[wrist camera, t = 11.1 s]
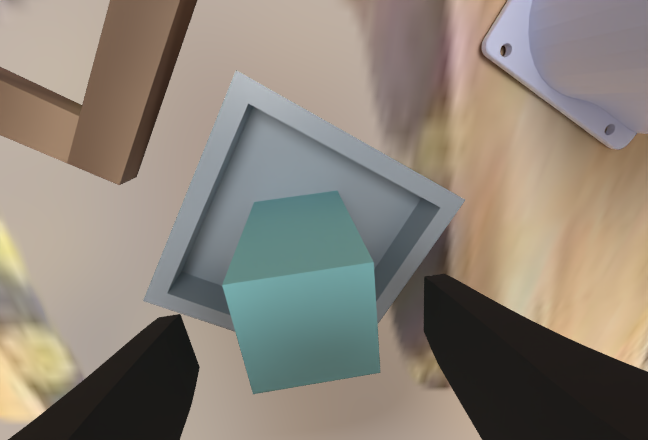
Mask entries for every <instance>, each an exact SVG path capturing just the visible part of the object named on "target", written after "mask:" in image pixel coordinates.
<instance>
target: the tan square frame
mask: <svg viewBox="0 0 648 440" xmlns="http://www.w3.org/2000/svg"><path fill="white" fill-rule="evenodd" d="M196 2H197V0H110V3H109V7H108V11H107V14H106V18H105V22H104V25H103V29H102V33H101V37H100V41H99V44H98V48H97V52H96V56H95V60H94V63H93V67H92V71H91V74H90V78H89V82H88V86H87V89H86V93H85V97H84V101H83V105H80V104H78V103H76V102H74V101H72V100H70V99H67V98H65V97H63V96H61V95H59V94H57V93H55V92H53V91H50V90H48V89H46V88H44V87H42V86H40V85H38V84H36V83H33V82H31V81H29V80H27V79H25V78H23V77H21V76H19V75H16V74H14V73H12V72H10V71H8V70H6V69H4V68H1V67H0V135H1V136H4V137H6V138H9V139H11V140H13V141H16V142H18V143H20V144H23V145H25V146H27V147H30V148H32V149H35V150H37V151H40V152H42V153H44V154H46V155H49V156H51V157H54V158H56V159H59V160H61V161H63V162H65V163H68V164H70V165H73V166H75V167H78V168H80V169H82V170H85V171H87V172H90V173H92V174H94V175H96V176H99V177H101V178H103V179H106V180H108V181H111V182H113V183H115V184H118V185H121V184H123V183H125V182H127V181H129V180H131V179H133V178H135V177H137V174H138V171H139V169H140V165H141V163H142V160H143V157H144V154H145V151H146V148H147V145H148V142H149V139H150V136H151V134H152V131H153V128H154V125H155V122H156V119H157V116H158V113H159V110H160V107H161V104H162V101H163V99H164V96H165V93H166V90H167V87H168V84H169V81H170V78H171V75H172V72H173V69H174V66H175V63H176V61H177V58H178V55H179V52H180V49H181V46H182V43H183V40H184V37H185V34H186V31H187V29H188V25H189V23H190V20H191V17H192V14H193V11H194V8H195V5H196Z"/></svg>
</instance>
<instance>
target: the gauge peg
mask: <svg viewBox="0 0 648 440" xmlns="http://www.w3.org/2000/svg"><path fill="white" fill-rule="evenodd" d="M222 287H223V290H224V294H225V297H226V301H227V304H228V308H229V311H230V315H231V318H232V322H233V325H234V329H235V332H236V336H237V339H238V343H239V346H240V350H241V353H242V357H243V360H244V364H245V367H246V370H247V374H248V378H249V381H250V385H251V388H252V392H253V394H256V393H263V392H269V391H275V390H281V389H287V388H293V387H298V386H304V385H310V384H316V383H322V382H327V381H334V380H340V379H345V378H352V377H357V376H363V375H369V374H375V373H380V358H379V342H378V327H377V309H376V292H375V276H374V262H373V260H372V258H371V256H370V254H369V252H368V250H367V248H366V246H365V244H364V242H363V240H362V238H361V236H360V234H359V232H358V230H357V228H356V226H355V224H354V222H353V220H352V218H351V216H350V214H349V212H348V210H347V209H346V207H345V205H344V203H343V201H342V199H341V197H340V195H339V193H338V191H330V192H322V193H315V194H308V195H301V196H294V197H286V198H279V199H272V200H265V201H258V202H254V204H253V206H252V209H251V211H250V214H249V217H248V219H247V222H246V224H245V227H244V229H243V232H242V235H241V237H240V240H239V242H238V245H237V248H236V250H235V253H234V255H233V258H232V261H231V263H230V266H229V268H228V271H227V274H226V276H225V279H224V281H223V284H222Z"/></svg>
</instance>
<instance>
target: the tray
mask: <svg viewBox="0 0 648 440" xmlns="http://www.w3.org/2000/svg"><path fill="white" fill-rule="evenodd" d="M330 191H338V193H339V195H340V197H341V199H342V201H343V203H344V205H345V207H346V209H347V210H348V212H349V214H350V216H351V218H352V220H353V222H354V224H355V226H356V228H357V230H358V232H359V234H360V236H361V238H362V240H363V242H364V244H365V246H366V248H367V250H368V252H369V254H370V256H371V258H372V260H373V262H374V276H375V292H376V309H377V324H378V323H379V321H380V320H381V319H382V317H383V316H384V315H385V313H386V312H387V310H388V309H389V307H390V306H391V305H392V303H393V302H394V300H395V299H396V298H397V296H398V295H399V293H400V292H401V291H402V289H403V288H404V286H405V285H406V283H407V282H408V281H409V279H410V278H411V276H412V275H413V274H414V272H415V271H416V269H417V268H418V266H419V265H420V264H421V262H422V261H423V259H424V258H425V257H426V255H427V254H428V252H429V251H430V249H431V248H432V247H433V245H434V244H435V242H436V241H437V240H438V238H439V237H440V235H441V234H442V232H443V231H444V230H445V228H446V227H447V225H448V224H449V223H450V221H451V220H452V218H453V217H454V215H455V214H456V213H457V211H458V210H459V208H460V207H461V206H462V204H463V203H464V201H465V199H463V198H461V197H459V196H458V195H456V194H454V193H452V192H450V191H449V190H447V189H445V188H443V187H442V186H440V185H438V184H436V183H435V182H433V181H431V180H429V179H428V178H426V177H424V176H422V175H420V174H419V173H417V172H415V171H413V170H412V169H410V168H408V167H406V166H405V165H403V164H401V163H399V162H397V161H396V160H394V159H392V158H390V157H389V156H387V155H385V154H383V153H382V152H380V151H378V150H376V149H374V148H373V147H371V146H369V145H367V144H366V143H364V142H362V141H360V140H359V139H357V138H355V137H353V136H351V135H350V134H348V133H346V132H344V131H343V130H341V129H339V128H337V127H335V126H334V125H332V124H330V123H329V122H327V121H325V120H323V119H321V118H320V117H318V116H316V115H314V114H312V113H311V112H309V111H307V110H306V109H304V108H302V107H300V106H298V105H297V104H295V103H293V102H291V101H289V100H288V99H286V98H284V97H282V96H281V95H279V94H277V93H275V92H274V91H272V90H270V89H268V88H267V87H265V86H263V85H261V84H260V83H258V82H256V81H254V80H252V79H251V78H249V77H247V76H245V75H244V74H242V73H240V72H238V71H237V70H236V72H235V74H234V77H233V79H232V82H231V84H230V87H229V89H228V92H227V94H226V97H225V99H224V101H223V104H222V106H221V109H220V111H219V114H218V116H217V119H216V122H215V124H214V127H213V129H212V131H211V134H210V136H209V139H208V141H207V144H206V146H205V149H204V152H203V154H202V156H201V159H200V161H199V164H198V166H197V169H196V171H195V174H194V176H193V179H192V181H191V184H190V186H189V188H188V191H187V194H186V196H185V198H184V201H183V204H182V206H181V208H180V211H179V213H178V216H177V218H176V221H175V223H174V226H173V228H172V231H171V233H170V236H169V238H168V241H167V243H166V246H165V248H164V251H163V253H162V256H161V258H160V261H159V263H158V265H157V268H156V270H155V273H154V276H153V278H152V280H151V283H150V285H149V288H148V290H147V293H146V295H145V298H144V301H145V302H148V303H151V304H154V305H157V306H160V307H163V308H166V309H169V310H172V311H176V312H178V313H181V314H184V315H187V316H190V317H193V318H196V319H199V320H202V321H205V322H208V323H211V324H214V325H217V326H220V327H223V328H226V329H229V330H232V331H235V329H234V325H233V322H232V318H231V315H230V311H229V308H228V304H227V301H226V297H225V294H224V290H223V287H222V284H223V281H224V279H225V276H226V274H227V271H228V268H229V266H230V263H231V261H232V258H233V255H234V253H235V250H236V248H237V245H238V242H239V240H240V237H241V235H242V232H243V229H244V227H245V224H246V222H247V219H248V217H249V214H250V211H251V209H252V206H253V204H254V202H258V201H265V200H272V199H279V198H286V197H294V196H301V195H308V194H315V193H322V192H330Z"/></svg>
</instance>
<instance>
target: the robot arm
mask: <svg viewBox="0 0 648 440" xmlns="http://www.w3.org/2000/svg"><path fill="white" fill-rule="evenodd" d="M503 45H504V46H505V48H506V53H505V55H504V56H503V57H502V56H501V54H500V49H501V47H502V46H503ZM482 52H483V54H484V55H485V57H487V58H488V59H490V60H491V61H492V62H494V63H495V64H496V65H498V66H499V67H500V68H502V69H503V70H504V71H506V72H507V73H508V74H510V75H511V76H512V77H514V78H515V79H517V80H518V81H519V82H521V83H522V84H523V85H525V86H526V87H527V88H529V89H530V90H531V91H533V92H534V93H535V94H537V95H538V96H539V97H541V98H542V99H544V100H545V101H546V102H548V103H549V104H550V105H552V106H553V107H554V108H556V109H557V110H558V111H560V112H561V113H562V114H564V115H565V116H566V117H568V118H569V119H571V120H572V121H573V122H575V123H576V124H577V125H579V126H580V127H581V128H583V129H584V130H585V131H587V132H588V133H589V134H591V135H592V136H593V137H595V138H596V139H598V140H599V141H600V142H602V143H603V144H604V145H606V146H607V147H608V148H611V149H617V150H618V149H622V148H624V147H625V146H627V145H628V144H629V142H630V141H631V140H632V139H633V138H634V136H635V135H636V134H637V133H642V134H648V0H508V1H507V2H506V4H505V6H504V7H503V9H502V10H501V12H500V14H499V15H498V17H497V19H496V20H495V22H494V23H493V25H492V27H491V28H490V30H489V31H488V33H487V35H486V36H485V38H484V40H483V42H482ZM606 127H607V130H606V132H605V129H606ZM424 333H425V335H426V337H427V340H428V342H429V344H430V347H431V349H432V351H433V354H434V356H435V358H436V360H437V363H438V364H439V366H440V368H441V370H442V371H443V373H444V375H445V377H446V378H447V380H448V382H449V384H450V385H451V387H452V389H453V391H454V392H455V394H456V396H457V397H458V399H459V401H460V403H461V404H462V406H463V408H464V409H465V411H466V413H467V414H468V416H469V418H470V419H471V421H472V423H473V425H474V426H475V428H476V430H477V432H478V433H479V435H480V437H481V438H482V440H648V372H647V371H644V370H642V369H639V368H637V367H634V366H632V365H629V364H626V363H624V362H622V361H619V360H617V359H614V358H612V357H610V356H607V355H605V354H603V353H600V352H598V351H596V350H593V349H591V348H588V347H586V346H584V345H581V344H579V343H577V342H575V341H573V340H570V339H568V338H566V337H564V336H562V335H560V334H558V333H556V332H554V331H552V330H549V329H547V328H545V327H543V326H541V325H539V324H537V323H535V322H533V321H531V320H529V319H527V318H525V317H523V316H521V315H519V314H518V313H516V312H514V311H512V310H510V309H508V308H506V307H504V306H503V305H501V304H499V303H497V302H495V301H493V300H492V299H490V298H488V297H486V296H484V295H483V294H481V293H479V292H477V291H476V290H474V289H472V288H470V287H468V286H467V285H465V284H463V283H461V282H459V281H458V280H456V279H454V278H452V277H450V276H448V275H446V274H440V275H433V276H426V277H424ZM198 372H199V364H198V362H197V359H196V356H195V353H194V350H193V348H192V345H191V342H190V340H189V337H188V334H187V331H186V329H185V326H184V323H183V320H182V318H181V315H180V314H178V315H172V316H166V317H159V318H157V319H156V320H155V321H153V322H152V323H151V324H150V325H148V326H147V327H146V328H145V329H143V330H142V331H141V332H140V333H139V334H137V335H136V336H135V337H134V338H133V339H132V340H130V341H129V342H128V343H127V344H126V345H125V346H123V347H122V348H121V349H120V350H119V351H117V352H116V353H115V354H114V355H113V356H112V357H110V358H109V359H108V360H107V361H106V362H105V363H103V364H102V365H101V366H100V367H99V368H98V369H96V370H95V371H94V372H93V373H92V374H90V375H89V376H88V377H87V378H86V379H84V380H83V381H82V382H81V383H79V384H78V385H77V386H76V387H75V388H73V389H72V390H71V391H70V392H68V393H67V394H66V395H65V396H63V397H62V398H61V399H60V400H58V401H57V402H56V403H55V404H53V405H52V406H51V407H50V408H48V409H47V410H46V411H45V412H43V413H42V414H41V415H40V416H38V417H37V418H36V419H35V420H33V421H32V422H31V423H29V424H28V425H27V426H26V427H24V428H23V429H22V430H20V431H19V432H18V433H16V434H15V435H14V436H12V437H11V438H10V439H8V440H180V437H181V434H182V431H183V428H184V425H185V422H186V419H187V417H188V414H189V411H190V407H191V404H192V400H193V396H194V391H195V387H196V382H197V377H198Z"/></svg>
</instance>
